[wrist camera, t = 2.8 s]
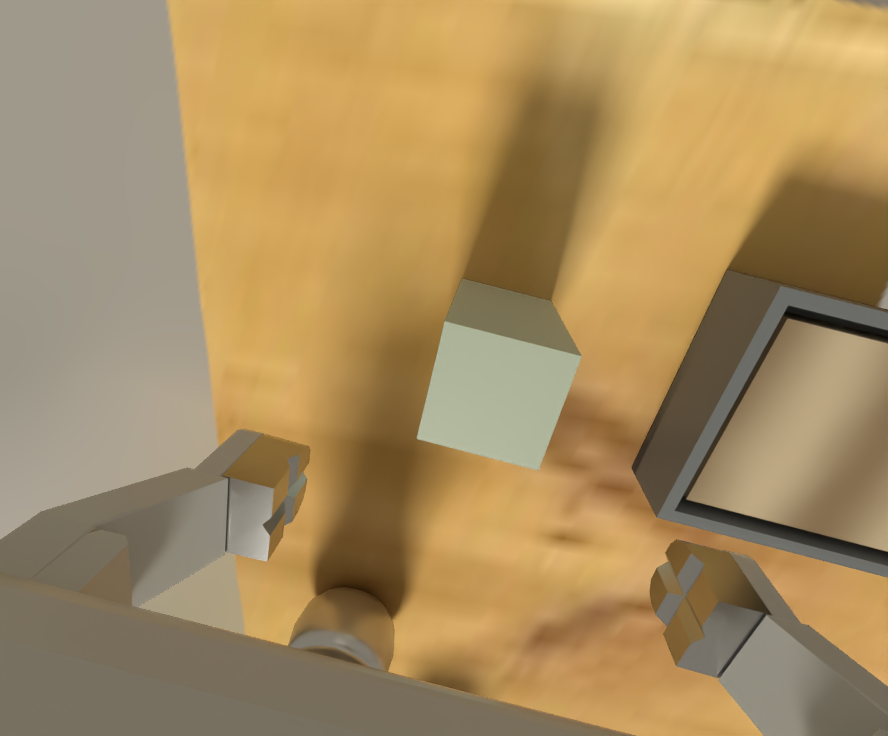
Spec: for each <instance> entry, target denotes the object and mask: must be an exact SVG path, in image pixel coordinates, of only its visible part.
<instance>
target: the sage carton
mask: <svg viewBox="0 0 888 736" xmlns="http://www.w3.org/2000/svg"><path fill="white" fill-rule="evenodd" d="M581 357H582V356H581V354H580V352H579V350H578V348H577V347H576V345H575V343H574V341H573V339H572V338H571V336H570V334H569V332H568V330H567V329H566V327H565V325H564V323H563V321H562V319H561V318H560V316H559V314H558V312H557V310H556V309H555V307H554V305H553V303H552V301H550V300H546V299H542V298H538V297H534V296H530V295H526V294H522V293H518V292H514V291H510V290H506V289H502V288H498V287H494V286H491V285H487V284H483V283H479V282H475V281H471V280H467V279H463V278H462V280H461V283H460V285H459V287H458V290H457V292H456V295H455V297H454V300H453V302H452V305H451V307H450V310H449V312H448V315H447V317H446V320H445V323H444V327H443V331H442V335H441V339H440V343H439V348H438V352H437V356H436V360H435V364H434V368H433V373H432V377H431V381H430V385H429V389H428V393H427V398H426V402H425V406H424V410H423V414H422V418H421V423H420V427H419V431H418V435H417V439H419V440H423V441H427V442H431V443H434V444H438V445H442V446H446V447H450V448H454V449H457V450H461V451H465V452H469V453H473V454H477V455H480V456H484V457H488V458H492V459H496V460H500V461H504V462H507V463H511V464H515V465H519V466H523V467H527V468H530V469H534V470H539V467H540V465H541V462H542V459H543V457H544V454H545V452H546V449H547V446H548V444H549V441H550V439H551V436H552V433H553V431H554V428H555V425H556V423H557V420H558V418H559V415H560V412H561V410H562V407H563V404H564V402H565V399H566V397H567V394H568V391H569V389H570V386H571V383H572V381H573V378H574V376H575V373H576V370H577V368H578V365H579V362H580V360H581Z"/></svg>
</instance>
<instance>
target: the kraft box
mask: <svg viewBox="0 0 888 736" xmlns="http://www.w3.org/2000/svg"><path fill="white" fill-rule="evenodd" d="M684 497H685V498H686V500H690V501H694V502H698V503H702V504H706V505H709V506H713V507H717V508H721V509H725V510H729V511H733V512H736V513H740V514H744V515H748V516H752V517H756V518H760V519H763V520H767V521H771V522H775V523H779V524H783V525H787V526H791V527H794V528H798V529H802V530H806V531H810V532H814V533H818V534H821V535H825V536H829V537H833V538H837V539H841V540H845V541H848V542H852V543H856V544H860V545H864V546H868V547H872V548H875V549H879V550H883V551H887V552H888V337H886V336H882V335H878V334H874V333H870V332H866V331H862V330H858V329H854V328H850V327H846V326H842V325H838V324H834V323H830V322H826V321H822V320H818V319H814V318H810V317H806V316H802V315H798V314H794V313H790V312H786V311H785V312H784V314H783V316H782V318H781V319H780V321H779V323H778V325H777V327H776V328H775V330H774V332H773V334H772V336H771V337H770V339H769V341H768V343H767V345H766V346H765V348H764V350H763V352H762V354H761V355H760V357H759V359H758V361H757V363H756V365H755V366H754V368H753V370H752V372H751V374H750V375H749V377H748V379H747V381H746V383H745V384H744V386H743V388H742V390H741V392H740V393H739V395H738V397H737V399H736V401H735V402H734V404H733V406H732V408H731V410H730V412H729V413H728V415H727V417H726V419H725V421H724V422H723V424H722V426H721V428H720V430H719V431H718V433H717V435H716V437H715V439H714V440H713V442H712V444H711V446H710V448H709V449H708V451H707V453H706V455H705V457H704V458H703V460H702V462H701V464H700V466H699V468H698V469H697V471H696V473H695V475H694V477H693V478H692V480H691V482H690V484H689V486H688V487H687V489H686V491H685V493H684Z"/></svg>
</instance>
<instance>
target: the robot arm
mask: <svg viewBox="0 0 888 736" xmlns="http://www.w3.org/2000/svg"><path fill="white" fill-rule="evenodd" d="M309 460H310V448H309V446H307V445H303V444H300V443H296V442H292V441H289V440H285V439H282V438H278V437H274V436H271V435H267V434H263V433H259V432H255V431H251V430H248V429H239V430H237V431H236V432H235V433H234V434H233V435H232V436H231V437H230V438H228V439H227V440H226V441H225V442H224V443H223V444H222V445H221V446H220V447H218V448H217V449H216V450H215V451H214V452H213V453H212V454H211V455H210V456H209V457H207V459H205V460H204V461H203V462H202V463H201V464H200V465H199V466H197V467H196V468H195V469H191V468H185V469H181V470H178V471H175V472H171V473H168V474H164V475H161V476H158V477H154V478H151V479H148V480H144V481H142V482H138V483H135V484H131V485H128V486H125V487H121V488H118V489H115V490H111V491H108V492H105V493H101V494H98V495H95V496H91V497H88V498H85V499H81V500H78V501H75V502H72V503H68V504H65V505H61V506H58V507H55V508H52V509H48V510H45V511H42V512H40V513H38V514H37V515H35V516H34V517H33V518H31V519H30V520H28V521H27V522H25V523H24V524H22V525H21V526H20V527H18V528H17V529H15V530H14V531H12V532H11V533H9V534H8V535H7V536H5V537H4V538H2V539H1V540H0V736H635V735H631V734H627V733H623V732H620V731H616V730H612V729H608V728H604V727H600V726H596V725H592V724H589V723H585V722H581V721H577V720H573V719H569V718H565V717H561V716H558V715H554V714H550V713H546V712H542V711H538V710H534V709H530V708H526V707H523V706H519V705H515V704H511V703H507V702H503V701H499V700H495V699H492V698H488V697H484V696H480V695H476V694H472V693H468V692H464V691H460V690H457V689H453V688H449V687H445V686H441V685H437V684H433V683H429V682H426V681H422V680H418V679H414V678H410V677H406V676H402V675H398V674H394V673H391V672H387V671H383V670H379V669H375V668H371V667H367V666H363V665H360V664H356V663H352V662H348V661H344V660H340V659H336V658H332V657H328V656H325V655H321V654H317V653H313V652H309V651H305V650H301V649H297V648H293V647H290V646H286V645H282V644H278V643H274V642H270V641H266V640H262V639H259V638H255V637H251V636H247V635H243V634H239V633H235V632H231V631H227V630H223V629H220V628H216V627H212V626H208V625H204V624H200V623H196V622H193V621H188V620H184V619H181V618H177V617H173V616H169V615H165V614H161V613H157V612H153V611H150V610H146V609H142V608H138V607H139V606H140V605H142V604H144V603H145V602H147V601H149V600H150V599H152V598H153V597H155V596H157V595H159V594H160V593H162V592H164V591H165V590H167V589H169V588H170V587H172V586H174V585H175V584H177V583H179V582H180V581H182V580H184V579H185V578H187V577H189V576H190V575H192V574H194V573H195V572H197V571H199V570H200V569H202V568H203V567H205V566H207V565H208V564H210V563H212V562H214V561H215V560H217V559H218V558H220V557H222V556H224V555H225V552H227V553H232V554H236V555H240V556H245V557H249V558H254V559H258V560H263V561H268V560H269V558H270V557H271V555H272V553H273V552H274V550H275V549H276V547H277V545H278V544H279V542H280V541H281V539H282V537H283V530H284V525H286V524H288V523H290V522H292V521H293V519H294V518H295V516H296V514H297V513H298V510H299V508H300V506H301V503H302V501H303V498H304V494H305V490H306V484H307V478H306V476H305V475H304V473H303V471H304V470H305V468H306V467H307V465H308V464H309ZM665 553H666V557H667V560H668V562H667V563H665V564H663V565H661V566H659V567H657V568H656V570H655V572H654V574H653V576H652V578H651V584H650V599H651V604H652V607H653V609H654V612H655V614H656V615H657V616H658V617H659V618H660V620H661V621H662V622H663V623H664V624H665V625H666V628H665V631H664V633H663V635H664V637H665V640H666V642H667V645H668V647H669V650H670V652H671V655H672V657H673V660H674V662H675V665H676V666H678V667H681V668H685V669H688V670H692V671H695V672H699V673H702V674H706V675H709V676H713V677H716V678H720V679H719V680H718V681H719V682H720V683H721V684H722V685H723V687H724V688H725V689H726V690H727V692H728V693H729V694H730V695H731V696H732V698H733V699H734V700H735V701H736V702H737V704H738V705H739V706H740V707H741V709H742V710H743V711H744V712H745V713H746V715H747V716H748V717H749V718H750V719H751V721H752V722H753V723H754V724H755V725H756V727H757V728H758V729H759V730H760V732H761V733H762V734H763V735H764V736H888V686H886V685H885V684H884V683H882V682H881V681H880V680H879V679H877V678H876V677H875V676H873V675H872V674H871V673H870V672H868V671H867V670H866V669H864V668H863V667H862V666H861V665H859V664H858V663H857V662H855V661H854V660H853V659H851V658H850V657H849V656H848V655H846V654H845V653H844V652H842V651H841V650H840V649H839V648H837V647H836V646H835V645H833V644H832V643H831V642H830V641H828V640H827V639H826V638H824V637H823V636H822V635H820V634H819V633H818V632H817V631H815V630H814V629H813V628H811V627H810V626H809V625H805V624H801V623H800V621H799V620H798V619H797V617H796V616H795V615H794V613H793V612H792V610H791V609H790V608H789V606H788V605H787V604H786V602H785V601H784V600H783V598H782V597H781V596H780V594H779V593H778V591H777V590H776V589H775V587H774V586H773V585H772V583H771V582H770V581H769V579H768V578H767V577H766V575H765V574H764V572H763V571H762V570H761V568H760V567H759V566H758V564H757V563H756V562H755V561H754V560H753V559H752V558H750V557H749V556H747V555H743V554H739V553H734V552H730V551H725V550H718V549H714V548H710V547H706V546H702V545H697V544H693V543H689V542H685V541H681V540H677V539H676V540H675V541H674V542H672V543H671V544H670V545H669V547H668V549H667V551H666V552H665Z"/></svg>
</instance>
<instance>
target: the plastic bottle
mask: <svg viewBox="0 0 888 736" xmlns="http://www.w3.org/2000/svg"><path fill="white" fill-rule="evenodd" d="M394 631H395V630H394V625H393V622H392V620H391V618H390V615H389V613H388V611H387V609H386V608H385V606H384V605H383V604H382V603H381V602H380V601H379V600H378V599H376V598H375V597H373V596H372V595H370V594H368V593H366V592H364V591H361V590H358V589H354V588H344V587H340V588H333V589H330V590H327V591H326V592H324V593H322V594H320V595H319V596H317V597H315V598H313V599H312V600H311V601H310V602H309V603H308V605H307V606H306V608H305V609H304V611H303V612H302V614H301V615H300V617H299V618H298V620H297V622H296V623H295V625H294V628H293V631H292V635H291V638H290V641H289V644H288V646H290V647H293V648H297V649H301V650H305V651H309V652H313V653H317V654H321V655H325V656H328V657H332V658H336V659H340V660H344V661H348V662H352V663H356V664H360V665H363V666H367V667H371V668H375V669H379V670H383V671H387V672H388V670H389V667H390V664H391V661H392V658H393V652H394Z"/></svg>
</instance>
